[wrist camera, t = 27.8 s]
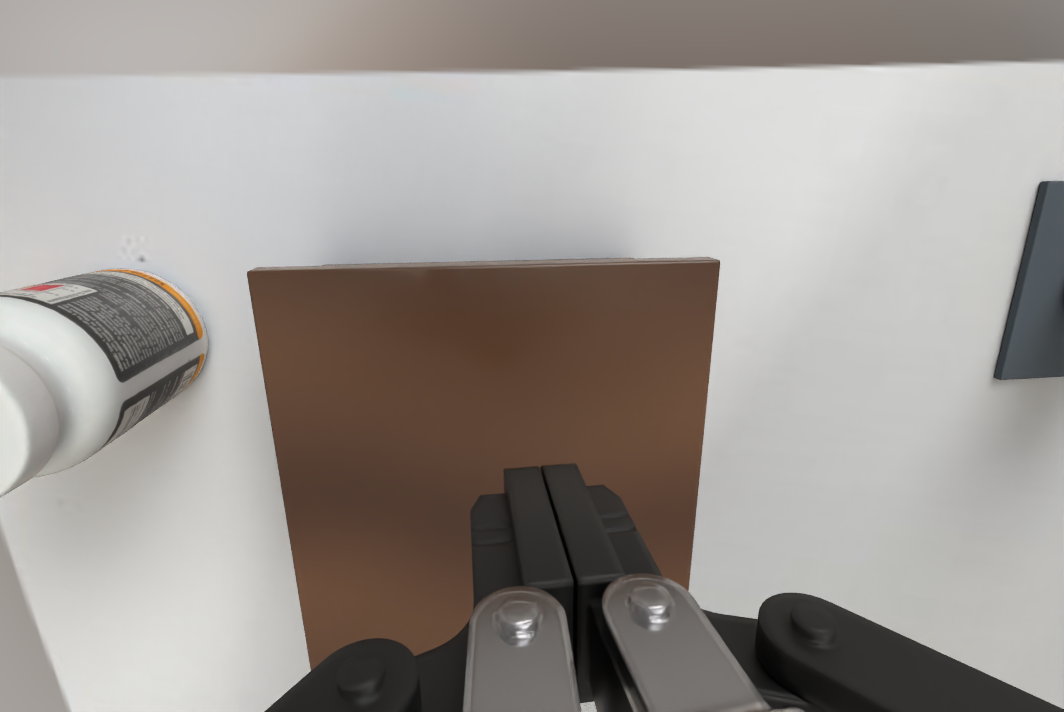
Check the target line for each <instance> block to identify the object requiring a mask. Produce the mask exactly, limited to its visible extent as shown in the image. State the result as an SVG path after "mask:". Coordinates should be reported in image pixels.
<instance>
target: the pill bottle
mask: <svg viewBox="0 0 1064 712" xmlns="http://www.w3.org/2000/svg"><path fill="white" fill-rule="evenodd" d="M207 351H208V338H207V331H206V328H205V325H204V322H203V319H202V317H201V315H200V314H199V312H198V310H197V308H196V307H195V305H194V304H193V303H192V301H191V300H190V299H189V298H188V297H187V296H186V295H185V294H184V293H183V292H182V291H181V290H180V289H178V288H177V287H176V286H174V285H173V284H171V283H170V282H168V281H166V280H164V279H162V278H160V277H159V276H156V275H154V274H152V273H148V272H144V271H140V270H135V269H124V268H120V269H107V270H101V271H96V272H91V273H86V274H81V275H77V276H72V277H68V278H63V279H59V280H55V281H51V282H47V283H42V284H38V285H33V286H29V287H24V288H20V289H15V290H10V291H6V292H1V293H0V498H1V497H2V496H4V495H5V494H7V493H9V492H10V491H12V490H13V489H15V488H17V487H18V486H20V485H22V484H23V483H25V482H27V481H28V480H30V479H31V478H33V477H38V476H44V475H48V474H53V473H56V472H59V471H62V470H65V469H68V468H70V467H73V466H75V465H77V464H79V463H81V462H82V461H84V460H86V459H87V458H89V457H91V456H92V455H94V454H95V453H96V452H98V451H99V450H101V449H102V448H103V447H105V446H106V445H108V444H109V443H111V442H112V441H113V440H115V439H116V438H118V437H119V436H121V435H123V434H124V433H125V432H127V431H128V430H129V429H130V428H132V427H133V426H134V425H136V424H137V423H138V422H140V421H141V420H143V419H144V418H145V417H147V416H148V415H150V414H151V413H152V412H154V411H155V410H157V409H158V408H159V407H161V406H162V405H164V404H165V403H167V402H168V401H169V400H171V399H172V398H174V397H175V396H176V395H178V394H179V393H180V392H182V391H183V390H184V389H185V388H186V387H187V386H189V385H190V384H191V383H192V382H193V381H194V379H195V378H196V377H197V376H198V374H199V373H200V371H201V369H202V367H203V365H204V362H205V359H206V355H207Z"/></svg>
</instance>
